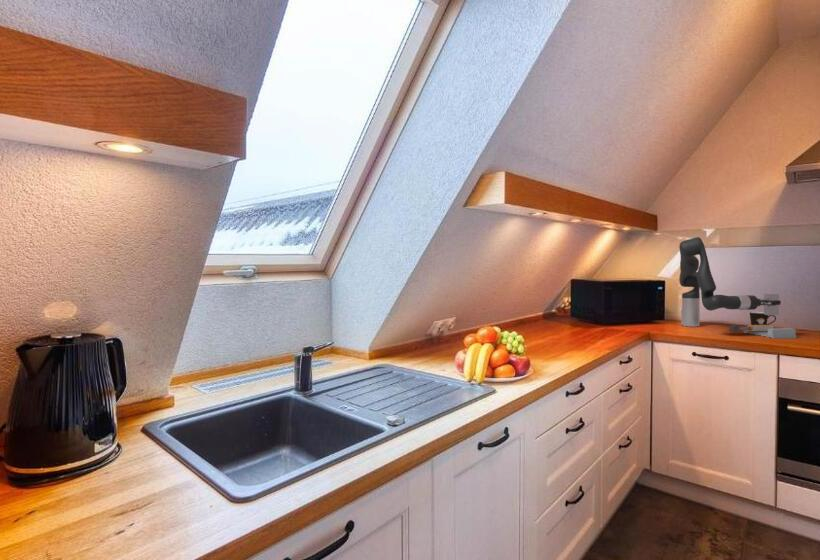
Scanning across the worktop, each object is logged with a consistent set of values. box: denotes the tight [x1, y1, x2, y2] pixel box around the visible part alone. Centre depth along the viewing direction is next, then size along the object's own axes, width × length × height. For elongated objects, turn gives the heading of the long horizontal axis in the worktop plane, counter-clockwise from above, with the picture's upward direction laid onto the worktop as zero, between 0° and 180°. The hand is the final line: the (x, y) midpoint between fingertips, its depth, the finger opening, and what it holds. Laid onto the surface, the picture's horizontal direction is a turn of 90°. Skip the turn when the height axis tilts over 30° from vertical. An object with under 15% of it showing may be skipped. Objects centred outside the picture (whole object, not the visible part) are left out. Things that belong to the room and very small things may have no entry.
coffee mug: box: [749, 311, 777, 325], centre depth 260 cm, size 12×9×10 cm
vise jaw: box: [729, 324, 775, 333], centre depth 247 cm, size 3×22×3 cm, turn 92°
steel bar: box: [763, 293, 780, 316], centre depth 239 cm, size 4×5×11 cm
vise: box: [742, 327, 797, 339], centre depth 241 cm, size 20×12×4 cm, turn 2°
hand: (776, 302), depth 240 cm, fingers closed on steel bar, 3 cm apart
